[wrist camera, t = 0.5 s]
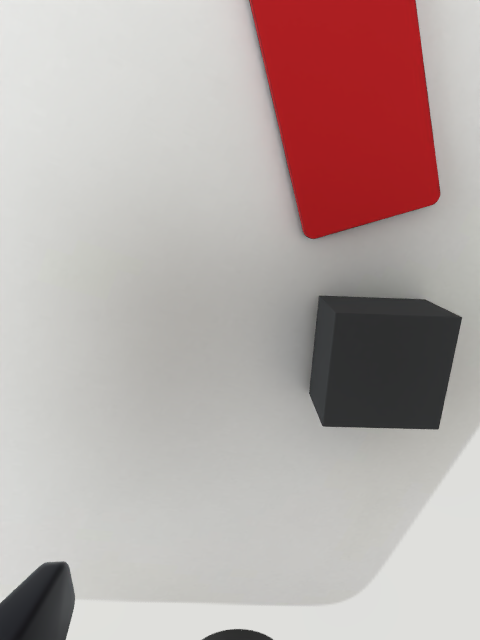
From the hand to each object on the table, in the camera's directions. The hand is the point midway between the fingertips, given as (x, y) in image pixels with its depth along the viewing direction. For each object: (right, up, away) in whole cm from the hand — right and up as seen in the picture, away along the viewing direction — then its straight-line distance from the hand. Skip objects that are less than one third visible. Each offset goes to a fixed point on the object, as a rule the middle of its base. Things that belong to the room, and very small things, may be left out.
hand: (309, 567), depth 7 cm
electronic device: (+2, +16, +8) cm, 18 cm away
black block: (+5, +3, +11) cm, 13 cm away
